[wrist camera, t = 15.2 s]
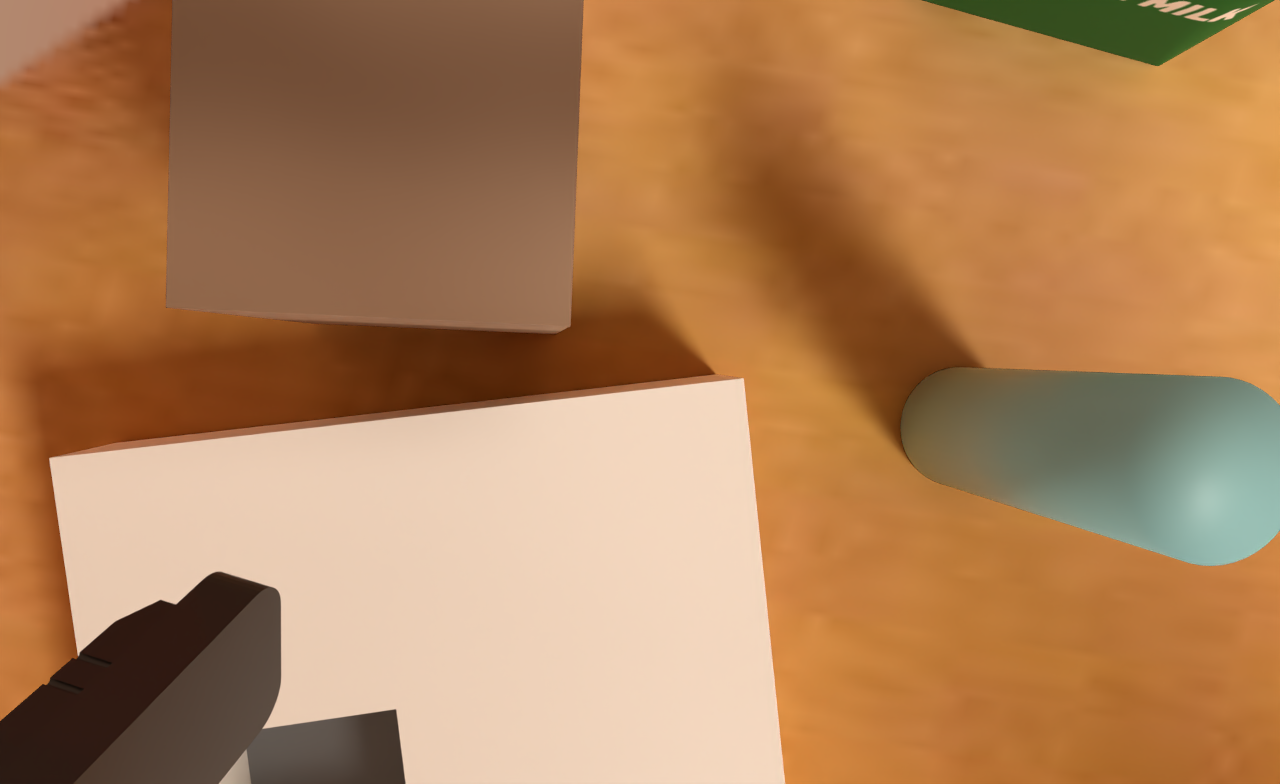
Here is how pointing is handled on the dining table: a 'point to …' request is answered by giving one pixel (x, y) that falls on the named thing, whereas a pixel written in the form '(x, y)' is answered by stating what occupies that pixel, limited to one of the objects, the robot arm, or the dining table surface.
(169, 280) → the grey brown block
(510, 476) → the board
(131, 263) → the dining table surface
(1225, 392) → the peg
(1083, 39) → the milk carton
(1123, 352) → the dining table surface
